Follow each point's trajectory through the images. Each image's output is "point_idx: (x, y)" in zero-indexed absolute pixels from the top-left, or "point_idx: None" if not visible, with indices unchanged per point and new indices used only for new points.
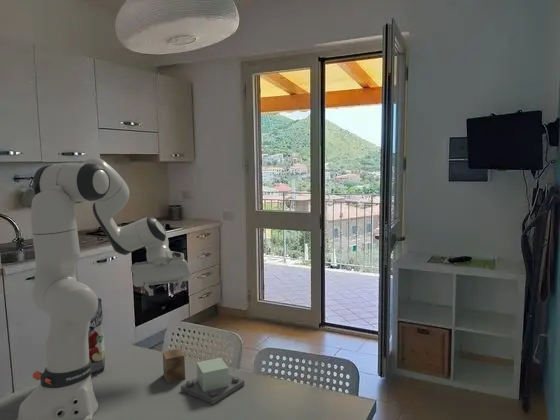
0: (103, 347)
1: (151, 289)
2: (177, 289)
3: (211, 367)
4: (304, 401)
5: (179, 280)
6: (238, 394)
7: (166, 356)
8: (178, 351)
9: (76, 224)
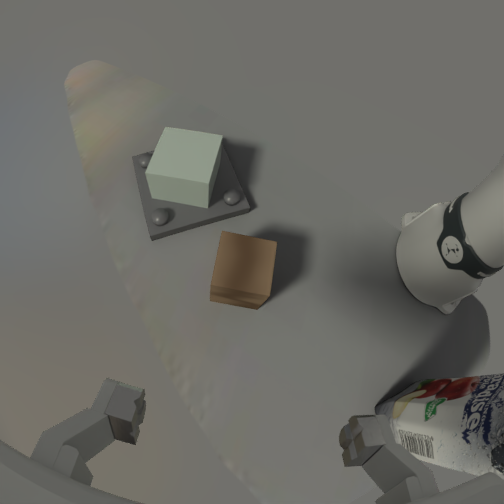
0: (406, 416)
1: (375, 441)
2: (134, 387)
3: (193, 144)
4: (109, 92)
5: (66, 449)
6: None
7: (269, 256)
8: (225, 268)
9: None
